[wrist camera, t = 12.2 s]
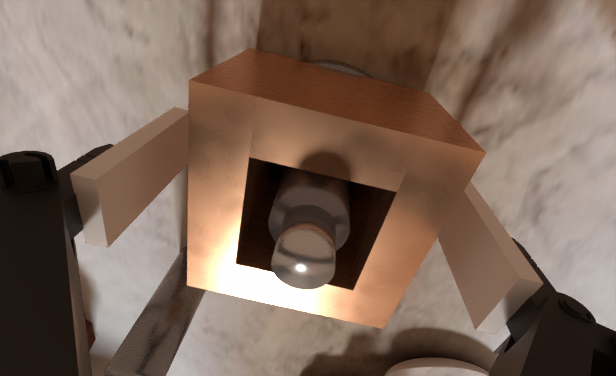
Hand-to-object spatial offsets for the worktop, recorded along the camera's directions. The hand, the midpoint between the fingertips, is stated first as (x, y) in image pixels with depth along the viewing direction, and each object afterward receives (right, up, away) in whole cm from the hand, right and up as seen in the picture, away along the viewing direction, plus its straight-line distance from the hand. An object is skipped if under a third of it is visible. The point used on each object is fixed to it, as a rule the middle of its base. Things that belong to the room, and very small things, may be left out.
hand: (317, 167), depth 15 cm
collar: (0, +1, +2) cm, 2 cm away
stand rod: (-9, -7, +9) cm, 14 cm away
